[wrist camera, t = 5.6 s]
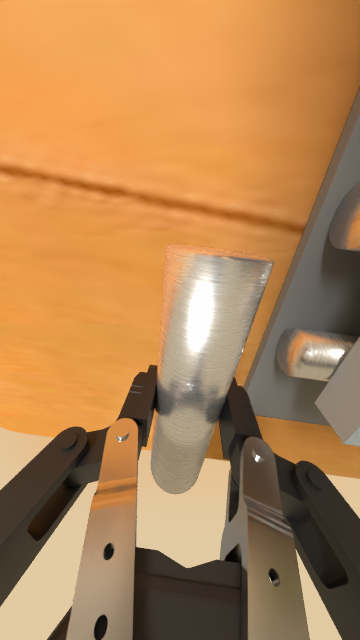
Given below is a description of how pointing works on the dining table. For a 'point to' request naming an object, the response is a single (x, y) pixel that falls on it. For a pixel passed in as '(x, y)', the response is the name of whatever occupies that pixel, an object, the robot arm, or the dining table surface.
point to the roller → (199, 352)
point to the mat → (313, 293)
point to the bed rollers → (315, 346)
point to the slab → (344, 399)
